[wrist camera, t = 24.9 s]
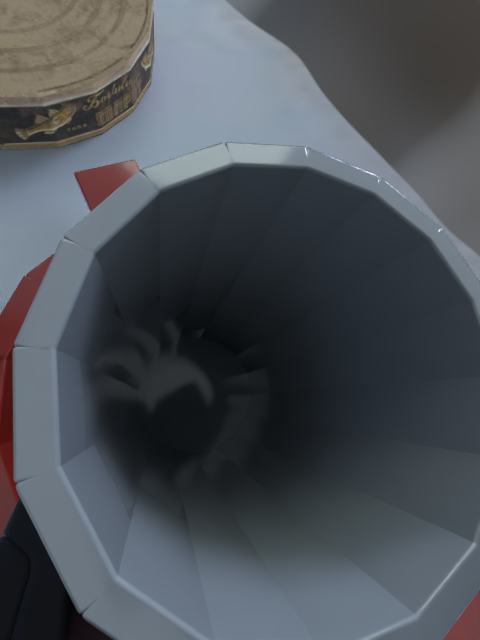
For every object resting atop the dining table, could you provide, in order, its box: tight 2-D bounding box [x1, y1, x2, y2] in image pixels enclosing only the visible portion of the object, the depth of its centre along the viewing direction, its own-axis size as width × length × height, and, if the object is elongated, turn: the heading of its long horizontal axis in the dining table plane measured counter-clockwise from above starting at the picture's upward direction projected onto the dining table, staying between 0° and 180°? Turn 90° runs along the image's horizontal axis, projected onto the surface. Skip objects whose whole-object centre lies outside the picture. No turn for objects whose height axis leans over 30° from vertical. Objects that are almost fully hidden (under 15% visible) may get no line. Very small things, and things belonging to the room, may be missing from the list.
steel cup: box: [12, 142, 480, 640], centre depth 9 cm, size 6×6×12 cm
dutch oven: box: [0, 160, 140, 538], centre depth 13 cm, size 14×19×6 cm
